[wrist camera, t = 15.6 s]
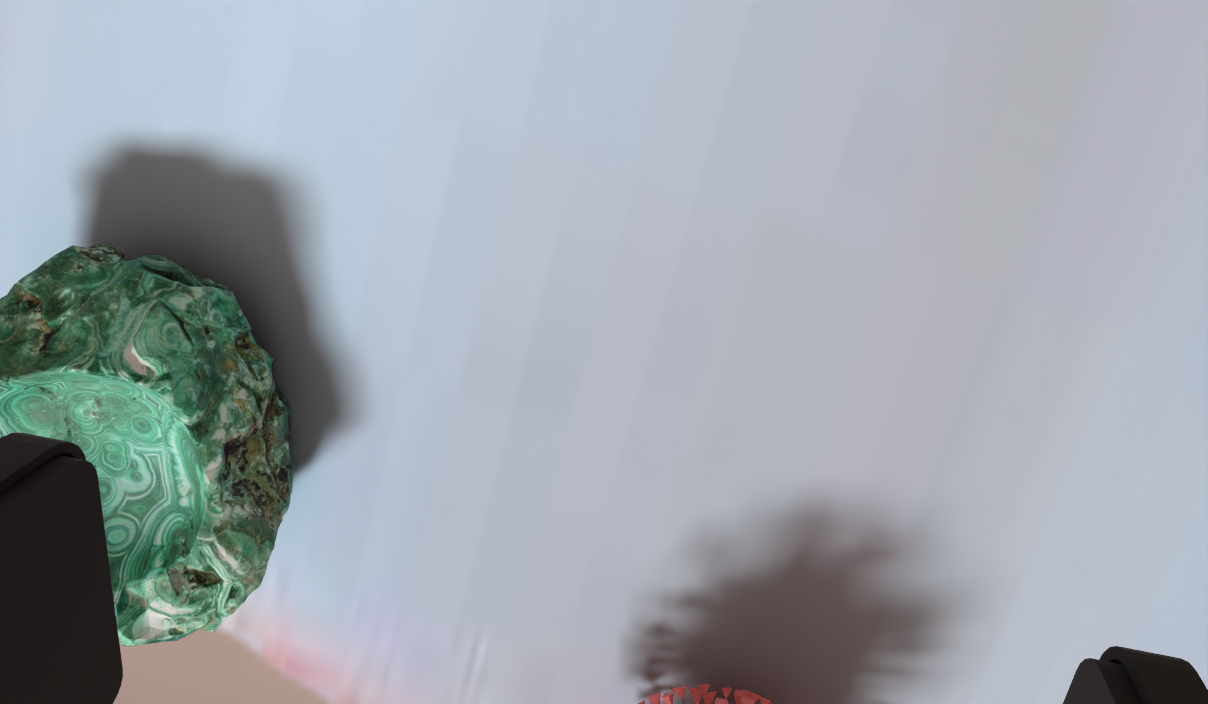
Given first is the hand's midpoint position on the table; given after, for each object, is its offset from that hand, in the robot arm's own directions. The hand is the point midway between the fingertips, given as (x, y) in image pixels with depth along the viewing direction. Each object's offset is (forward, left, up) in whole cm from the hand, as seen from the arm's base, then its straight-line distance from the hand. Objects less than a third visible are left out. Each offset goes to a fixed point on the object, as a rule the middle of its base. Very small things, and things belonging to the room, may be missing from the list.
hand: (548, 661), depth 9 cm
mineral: (+18, -25, -34) cm, 46 cm away
